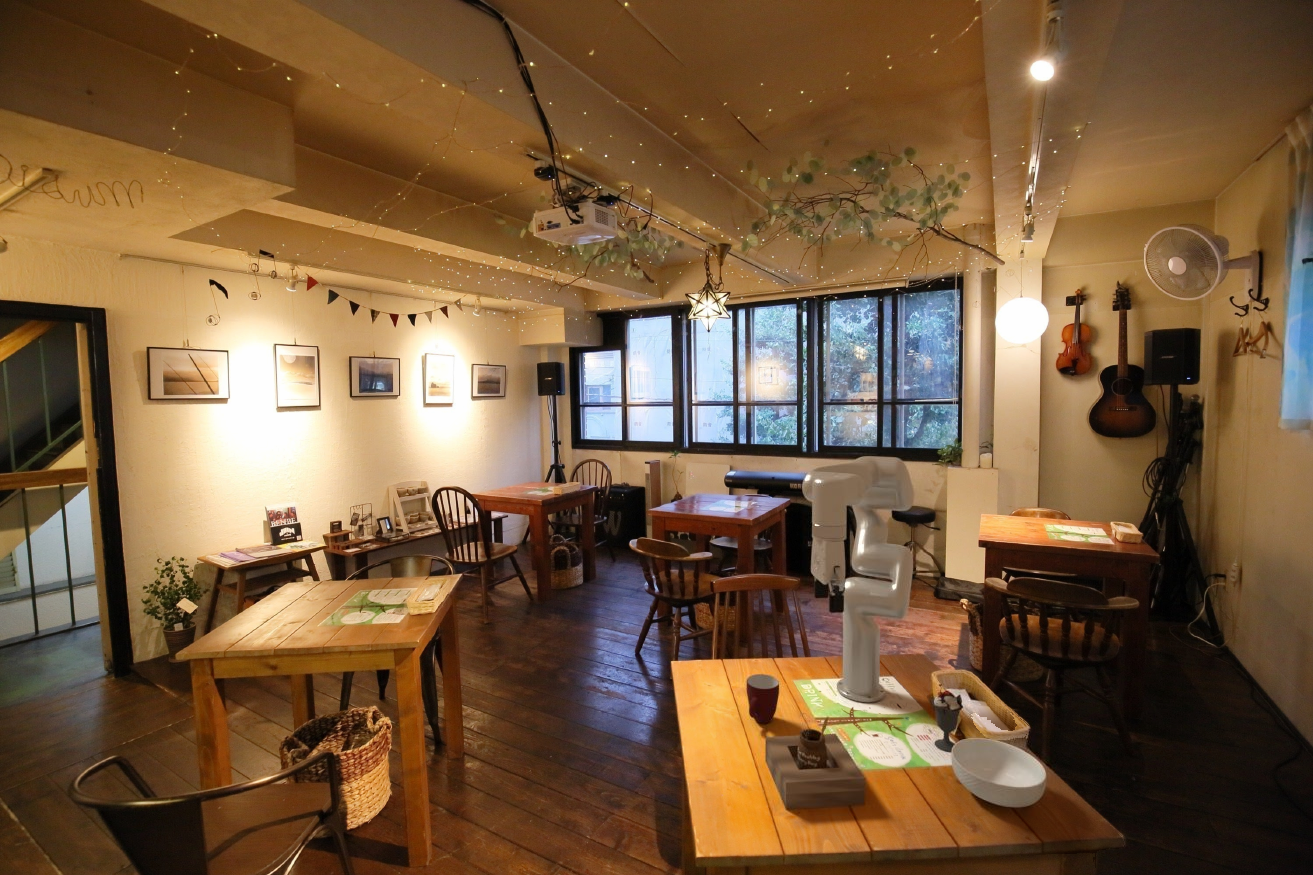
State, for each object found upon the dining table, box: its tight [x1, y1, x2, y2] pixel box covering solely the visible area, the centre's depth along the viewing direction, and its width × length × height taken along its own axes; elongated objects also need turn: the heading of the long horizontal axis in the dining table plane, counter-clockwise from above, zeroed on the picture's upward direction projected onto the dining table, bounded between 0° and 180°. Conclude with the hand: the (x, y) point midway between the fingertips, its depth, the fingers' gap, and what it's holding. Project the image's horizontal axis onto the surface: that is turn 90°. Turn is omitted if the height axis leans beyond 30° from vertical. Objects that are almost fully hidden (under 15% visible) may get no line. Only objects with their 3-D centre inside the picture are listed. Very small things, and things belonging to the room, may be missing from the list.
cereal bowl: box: [950, 737, 1048, 808], centre depth 123 cm, size 17×17×7 cm
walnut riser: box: [764, 733, 866, 810], centre depth 127 cm, size 16×16×6 cm
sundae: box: [930, 683, 964, 753], centre depth 139 cm, size 7×7×15 cm
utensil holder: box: [798, 712, 829, 770], centre depth 127 cm, size 6×6×12 cm
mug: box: [746, 673, 780, 725], centre depth 151 cm, size 11×8×10 cm
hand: (828, 604), depth 139 cm, fingers open, 9 cm apart
